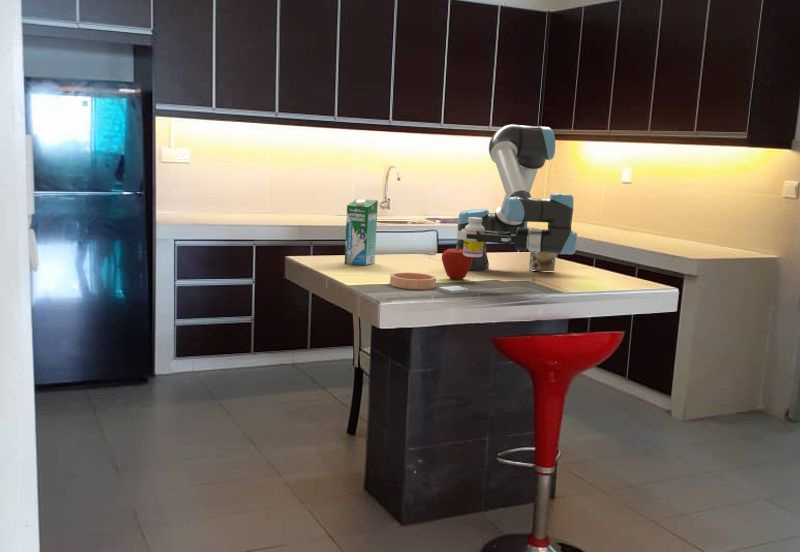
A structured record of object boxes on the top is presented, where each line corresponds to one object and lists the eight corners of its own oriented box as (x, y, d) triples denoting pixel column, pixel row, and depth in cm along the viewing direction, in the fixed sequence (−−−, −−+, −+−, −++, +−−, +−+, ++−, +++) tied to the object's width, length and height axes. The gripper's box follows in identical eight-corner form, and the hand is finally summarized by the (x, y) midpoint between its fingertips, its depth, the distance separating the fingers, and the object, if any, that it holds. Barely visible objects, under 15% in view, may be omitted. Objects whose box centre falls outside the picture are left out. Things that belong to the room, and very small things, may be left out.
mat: (461, 289, 256) (462, 288, 256) (477, 294, 248) (477, 293, 248) (431, 291, 250) (431, 289, 250) (445, 296, 242) (446, 294, 242)
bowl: (420, 282, 266) (421, 272, 266) (443, 290, 253) (444, 279, 253) (382, 283, 259) (382, 273, 258) (404, 291, 246) (404, 280, 246)
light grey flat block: (457, 288, 254) (457, 285, 254) (470, 292, 249) (470, 289, 249) (438, 290, 249) (438, 287, 249) (451, 293, 244) (451, 290, 244)
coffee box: (531, 272, 306) (535, 231, 304) (528, 269, 312) (531, 230, 310) (554, 273, 306) (558, 233, 304) (551, 270, 313) (554, 231, 310)
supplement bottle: (461, 254, 262) (463, 216, 260) (480, 255, 262) (483, 217, 260) (464, 257, 255) (467, 218, 253) (484, 257, 256) (487, 219, 254)
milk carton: (344, 263, 301) (347, 199, 297) (354, 260, 310) (357, 198, 306) (365, 265, 298) (368, 200, 294) (374, 263, 306) (378, 200, 302)
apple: (435, 277, 278) (437, 244, 276) (461, 277, 282) (464, 244, 280) (449, 283, 268) (451, 248, 266) (476, 282, 272) (478, 248, 270)
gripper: (524, 254, 244) (452, 248, 250) (530, 248, 263) (464, 242, 269) (525, 230, 243) (454, 225, 249) (532, 226, 262) (465, 220, 268)
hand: (459, 234), depth 259 cm, fingers closed on supplement bottle, 7 cm apart
